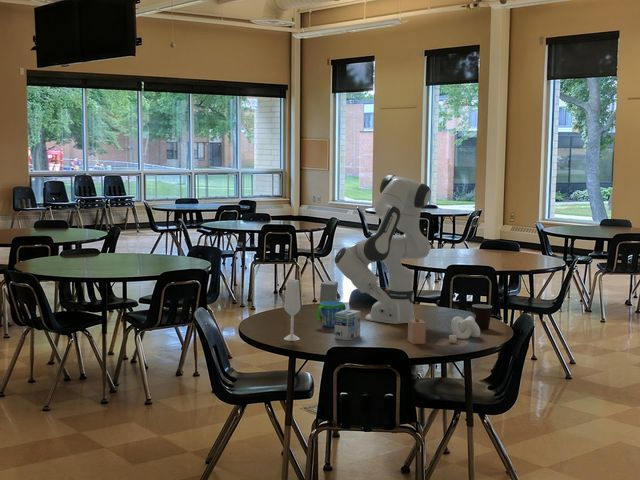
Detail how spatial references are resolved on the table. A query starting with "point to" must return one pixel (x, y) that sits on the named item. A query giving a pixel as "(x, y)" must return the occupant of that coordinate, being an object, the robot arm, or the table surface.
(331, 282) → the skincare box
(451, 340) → the small white block
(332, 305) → the snack cup
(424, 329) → the pink juice box
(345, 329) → the light bulb box
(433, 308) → the table surface
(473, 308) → the coffee mug
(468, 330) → the white lumpy piece
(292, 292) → the champagne flute
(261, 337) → the table surface
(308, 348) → the table surface
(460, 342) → the board
